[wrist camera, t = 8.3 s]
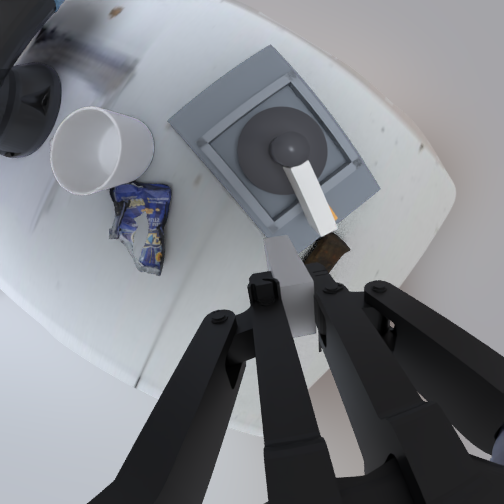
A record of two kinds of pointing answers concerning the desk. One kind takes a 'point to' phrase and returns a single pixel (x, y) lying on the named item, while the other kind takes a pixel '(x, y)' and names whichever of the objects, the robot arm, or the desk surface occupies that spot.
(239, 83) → the panel
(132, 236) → the snack package
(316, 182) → the dial
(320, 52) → the desk surface
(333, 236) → the dark brown lumpy bar
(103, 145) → the mug
